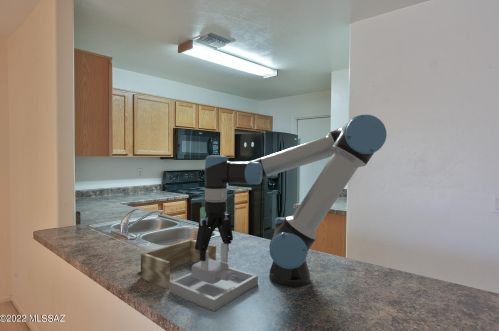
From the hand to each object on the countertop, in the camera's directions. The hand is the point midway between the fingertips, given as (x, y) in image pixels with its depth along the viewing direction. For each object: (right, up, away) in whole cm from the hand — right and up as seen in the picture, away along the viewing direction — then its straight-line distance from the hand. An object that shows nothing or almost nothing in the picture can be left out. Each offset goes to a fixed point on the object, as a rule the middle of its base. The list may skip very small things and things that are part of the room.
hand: (214, 265), depth 99 cm
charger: (+1, -5, -1) cm, 5 cm away
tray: (0, -8, 0) cm, 8 cm away
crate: (-15, -7, +14) cm, 22 cm away
